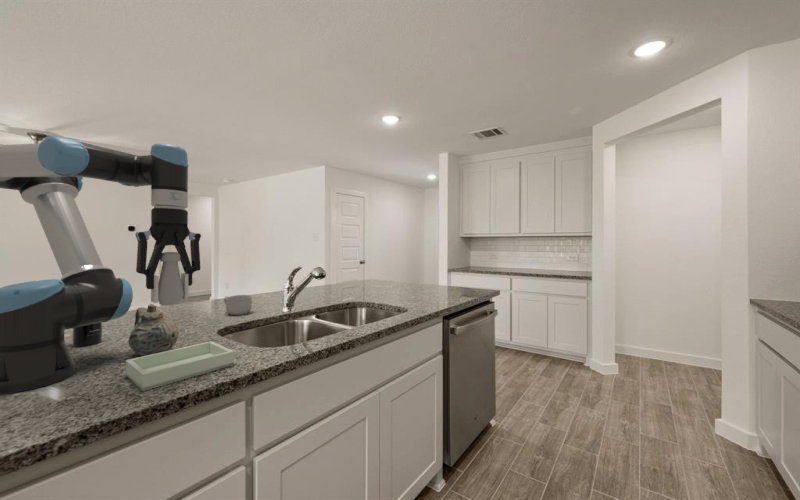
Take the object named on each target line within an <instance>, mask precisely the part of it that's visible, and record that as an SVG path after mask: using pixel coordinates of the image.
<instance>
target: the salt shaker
mask: <svg viewBox="0 0 800 500" xmlns="http://www.w3.org/2000/svg"><path fill="white" fill-rule="evenodd" d="M180 258H181V257H180V254H179V253H178V252H177V251H176V252H175V251H167V252H166V251H165V252H164V251H163V252H162V255H161V257H160V260H159V262H162V264H161V270H160V274H159V277H158V303H159V305H162V306H172V305H173V306H174V305H178V304H179V303H181V301H182V297H183V295H184V291H183V287H182V282H181V272H180V267H179V263H178V262H181V261H180Z"/></svg>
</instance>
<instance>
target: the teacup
mask: <svg viewBox="0 0 800 500" xmlns="http://www.w3.org/2000/svg"><path fill="white" fill-rule="evenodd" d="M252 297H253V296H252V295H250V294H235V295H231V296H229V295H227V296H225V297H224V298H223V303H224V305H225V308H226V309H225V310H226V312H227V313H228V314H230V315H231V316H235V317H236V316H243V315H246V314H248V313H249V312H250V311H251V309H252V302H253V301H252Z"/></svg>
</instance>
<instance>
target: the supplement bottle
mask: <svg viewBox="0 0 800 500" xmlns="http://www.w3.org/2000/svg"><path fill="white" fill-rule="evenodd" d="M102 339H103V322H100V323H95V324H90V325H85V326H80V327H75V328H72V345H73V347H87V346H88V345H89V346H93V344H94V345H98V344H100V343H101V342H102V341H103V340H102Z"/></svg>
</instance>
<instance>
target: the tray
mask: <svg viewBox="0 0 800 500" xmlns="http://www.w3.org/2000/svg"><path fill="white" fill-rule="evenodd" d="M233 366H235V351H234V350H233V349H230V348H228V347H225V346H223V345H220V344H218V343H217V342H214V341H212V340H211V341H206V342H202V343H197V344H192V345H188V346H184V347H180V348H174V349H170V350H169V351H165V352H160V353H156V354H151V355H147V356H140V357H139V356H138V357H134V358H129V359H126V360H125V377H127V378H128V379H129V380H130V381H132V383H133V384H135V386H137V388H138V389H140V391H142V392H146V390H147V391H150V390H153V389H152V388H154V389H157V388H160V387H159V386H161V387H164V386H167V385H166V384H168V385H171V384H174V383H173V382H175V383H177V381H178V382H182V381H184V379H185V380H189V379H191V377H192V378H195V377H199V376H201V375H206V374H209V373H212V371H213V372H216V371H219V370H222V368H223V369H225V368H226V369H227V368H229V367H230V368H231V367H233ZM215 370H216V371H215ZM205 373H206V374H205ZM198 375H199V376H198ZM194 376H195V377H194ZM170 383H171V384H170ZM163 385H164V386H163ZM156 387H157V388H156ZM149 389H150V390H149Z"/></svg>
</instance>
